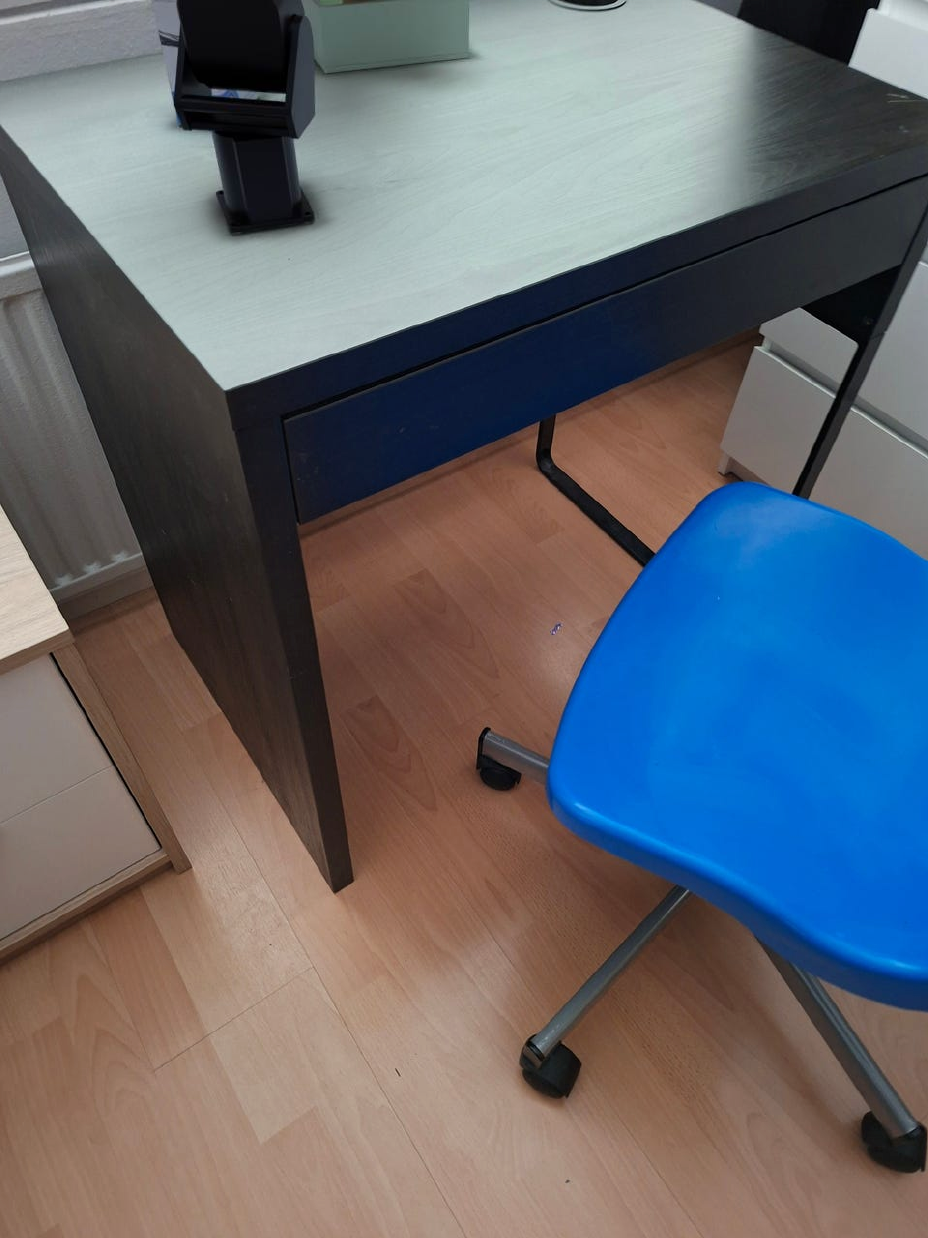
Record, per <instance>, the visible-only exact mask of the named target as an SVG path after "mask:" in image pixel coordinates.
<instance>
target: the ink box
mask: <svg viewBox="0 0 928 1238" xmlns="http://www.w3.org/2000/svg"><path fill="white" fill-rule="evenodd" d="M150 1H151V5H152V9H153V15H154V20H155V23H156V28H157V33H158V38H159V42H160V46H161V52H162V56H163V60H164V65H165V70H166V75H167V78H168V83H169V89H170V93H171V97H172V101H173V100H174V89H175V77H176V65H177V54H178V42H179V31H180V20H179V16H178V11H177V6H176V1H177V0H150ZM212 96H217V97H230V98H244V99H257V100H258V98H260V92H247V91H233V90H220V89H212ZM174 111H175V116H176V122H177V124H178V125H180V126H182V125H181V123H180V120H179V118H178V116H177V113H176V110H175V109H174Z"/></svg>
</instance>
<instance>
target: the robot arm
mask: <svg viewBox="0 0 928 1238" xmlns="http://www.w3.org/2000/svg"><path fill="white" fill-rule="evenodd" d="M176 6H177V11H178V16H179V20H180V31H179V42H178V54H177V65H176V77H175V89H174V100H173V99H172V102H173V108H174V111H175V110H176V112H175V114H176V113H177V116H178V118H179V120H180V123H181V125H180V126H181V128H182V130H183V131H185V132H186V131H189V132H192V131H204V132H211V137H212V142H213V147H214V151H215V157H216V161H217V167H218V172H219V176H220V177H219V178H220V181H221V182H220V183H221V186H222V189H219V190H217V191H215V197H216V200H217V203H218V207H219V209H220V211H221V214H222V217H223V219H224V222H225V224H226V227H227V230H228V231H229V233H231V234H239V233H246V232H251V231H258V230H265V229H272V228H278V227H287V226H291V225H299V224H304V223H311V222H314V221H315V220H316V217H315V211H314V210H313V208H312V206H311V204H310V202H309V200H308V198H307V196H306V194H305V192H304V190H303V189H302V187H301V184H300V176H299V169H298V163H297V155H296V147H295V140H299V139H301V136H302V135H303V134H304V132H305V131H306V129H307V128H308V126H309V125H310V124H311V122H312V121H313V119H314V118H315V116H316V75H315V73H316V72H315V58H314V40H313V33H312V28H311V24H310V21H309V19H308V18H307V17H306V16H305V11H304V8H303V4H302V1H301V0H177V1H176ZM212 89H220V90H233V91H247V92H259V93H262V94H275V95H277V94H278V95H285V96H284V99H285V100H284V101H283V100H270V99H269V100H268V99H258V98H257V99H244V98H230V97H217V96H212Z"/></svg>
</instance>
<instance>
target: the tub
mask: <svg viewBox="0 0 928 1238" xmlns="http://www.w3.org/2000/svg"><path fill="white" fill-rule="evenodd" d="M301 1H302V4H303V8H304V11H305V16H306V17H307V18H308V19H309V21H310V24H311V28H312V33H313V40H314V60H315V62H317V64H318V66H319V67H320V69H322V71H323V73H324V74H332V73H333V74H334V73H342V72H352V71H360V70H368V69H377V68H378V69H379V68H386V67H387V68H388V67H395V66H396V67H397V66H405V65H413V64H414V65H415V64H422V63H423V64H424V63H432V62H439V61H440V62H441V61H449V60H456V59H457V60H458V59H468V58H469V57H470V56H469V54H470V53H469V51H470V49H469V48H470V43H469V42H470V0H375V1H365V2H354V3H343V4H342V0H301Z"/></svg>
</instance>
